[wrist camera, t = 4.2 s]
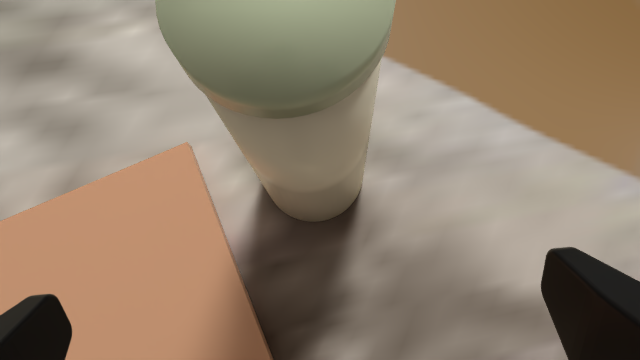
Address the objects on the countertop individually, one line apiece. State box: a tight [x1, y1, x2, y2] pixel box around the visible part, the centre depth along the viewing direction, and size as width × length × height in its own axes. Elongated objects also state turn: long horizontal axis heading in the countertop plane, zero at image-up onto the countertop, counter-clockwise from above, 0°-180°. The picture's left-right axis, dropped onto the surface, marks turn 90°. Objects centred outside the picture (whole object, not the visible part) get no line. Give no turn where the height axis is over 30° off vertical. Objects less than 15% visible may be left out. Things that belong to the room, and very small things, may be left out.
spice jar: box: [155, 0, 396, 222], centre depth 15 cm, size 5×5×13 cm
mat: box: [0, 142, 273, 360], centre depth 20 cm, size 11×11×1 cm
